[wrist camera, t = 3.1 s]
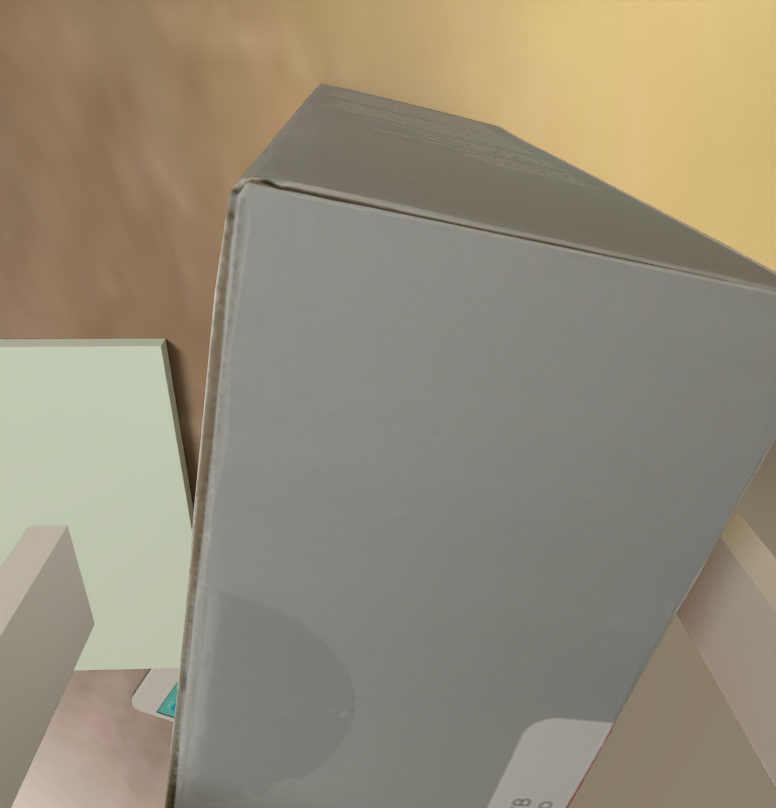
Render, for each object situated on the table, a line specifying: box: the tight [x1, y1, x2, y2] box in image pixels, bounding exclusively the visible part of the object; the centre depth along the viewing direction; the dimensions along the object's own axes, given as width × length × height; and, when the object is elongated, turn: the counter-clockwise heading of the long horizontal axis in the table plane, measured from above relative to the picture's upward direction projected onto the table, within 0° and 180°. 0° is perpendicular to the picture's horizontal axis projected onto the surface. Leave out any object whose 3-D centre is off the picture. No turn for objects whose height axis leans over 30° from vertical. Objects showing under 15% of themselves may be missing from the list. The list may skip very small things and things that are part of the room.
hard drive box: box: [165, 84, 776, 808], centre depth 19 cm, size 16×8×20 cm, turn 168°
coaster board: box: [0, 339, 194, 670], centre depth 33 cm, size 20×13×1 cm, turn 179°
